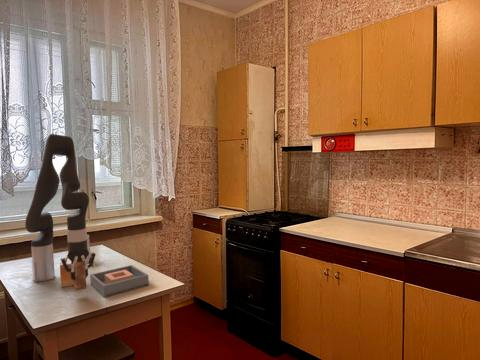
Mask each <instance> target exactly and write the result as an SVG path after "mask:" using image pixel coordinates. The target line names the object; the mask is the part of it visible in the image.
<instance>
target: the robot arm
mask: <svg viewBox="0 0 480 360" xmlns="http://www.w3.org/2000/svg"><path fill="white" fill-rule="evenodd" d="M75 152H76V151H75V142H74V140H73V138H72V137H71V136H68V135H61V134H56V133H55V134H54V133H50V134H48V135H47V137H46V139H45V141H44V149H43V154H42V155H43V156H42V161H41V165H40V168H39V173H38V176H37V180H36V184H35V190H34V194H33V198H32V201H31V205H30V207H29V210H28V212H27V214H26V217H25V230H26V231H27V232H28V233H30V234H32V233H33V234H34V233H39V234H38V235H37V236H36V237H34V238H33V239H32V240H31V241H30V247H31V248H30V250H31V258H32V259H31V270H32V279H33V281H34V282H35V283H38V282H46V281H50V280H52V279H55V277H56V274H55V271H56V270H55V261H54V246H53V245H54V244H53V243H54V242H53V240H54V218H53V216H52V214H51V213H50V212H48V211H43V210H44V208H45V207H46V206H47V205H48V204H49V203H50V202H51V201H52V200H53V199H54V197H55V196H56V195H57V192H58V190H59V186H60V183H61V188H62V193H61V194H62V195H61V202H60V203H61V207H62V209H63V210H66V211H70V210H71V211H72V210H73V211H74V210H78V211H77V212H76V213H74V214H71V215H69V216H67V218H66V225H67V235H66V238H67V255H66V256H65V257H61V258H60V261H61V262H62V264H63V266H64V268H65V270H66V271H67V272H70V274H71V279H72V280H73V281H74V280H75V272H74V270H75V263H76V262H79V261H85V272H86V279H87V277H88V276H89V269H90V268H91V267H93V265H94V261H95V258H96V255H97V254H96V252H94V251H93V252H91V251H90V252H89V251H88V247H87V235H88V233H87V226H86V222H87V221H86V218H87V217H86V216H87V211H88V207H89V203H90V197H89V195H88V193H87V192H84V191H79V190H80V189H81V183H80V179H79V175H78V171H77V163H76V153H75ZM54 155H55V156H65V159H66V160H65V163H64V164H63V166H62V167H61V169H60V171H59V174H58V173H57V170H56V169H55V166H54V163H53V159H54ZM77 191H79V192H77ZM88 255H89V257H90V259H89V262H88V264H87V263H86V258H87V256H88ZM68 261H71V267H70V268H68V265H67V263H66V262H68ZM61 262H60V263H61Z"/></svg>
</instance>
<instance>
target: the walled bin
mask: <svg viewBox="0 0 480 360" xmlns="http://www.w3.org/2000/svg"><path fill="white" fill-rule="evenodd" d="M89 277H90V279H89V281H90V285H91V287H92V288H93V289H95V290H96V291H97V292H98V293H99V294H100V295H101V296H102V297H103V298H108V297H111V296H115V295H118V294H123V293H126V292H130V291H133V290H137V289H140V288H144V287H148V286H150V285H149V284H150V282H149V281H150V280H149V274H147V273H146V272H145V271H142V270H140V269H139V268H137V267H136V266H134V265H132V264H130V265H126V266H125V265H124V266H121V267H118V268H113V269H107V270H104V271H99V272H96V273H90V274H89Z"/></svg>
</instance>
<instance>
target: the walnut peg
mask: <svg viewBox="0 0 480 360" xmlns="http://www.w3.org/2000/svg"><path fill="white" fill-rule="evenodd" d="M74 272H75V280H74V285H73V289H74V290H75V291H81V290H86V289H87V278H86V272H85V261H79V262H76V263H75V270H74Z"/></svg>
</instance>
